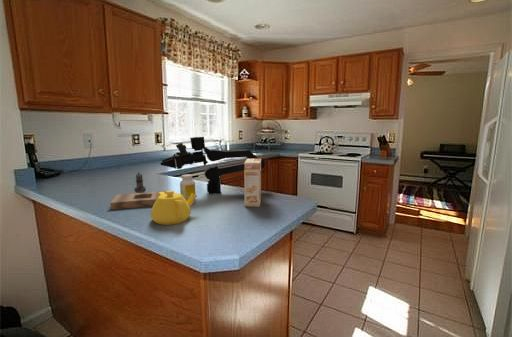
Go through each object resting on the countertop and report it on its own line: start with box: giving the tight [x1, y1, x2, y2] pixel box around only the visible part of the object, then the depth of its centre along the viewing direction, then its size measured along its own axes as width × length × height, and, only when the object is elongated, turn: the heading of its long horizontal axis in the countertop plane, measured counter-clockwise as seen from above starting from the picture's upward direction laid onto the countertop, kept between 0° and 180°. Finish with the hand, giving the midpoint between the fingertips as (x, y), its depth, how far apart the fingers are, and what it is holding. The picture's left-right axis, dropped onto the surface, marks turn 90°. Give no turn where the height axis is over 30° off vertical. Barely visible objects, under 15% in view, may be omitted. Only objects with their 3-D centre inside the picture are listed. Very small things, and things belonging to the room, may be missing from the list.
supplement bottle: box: [179, 173, 197, 204], centre depth 120 cm, size 7×7×13 cm
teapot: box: [150, 190, 198, 226], centre depth 101 cm, size 20×18×11 cm
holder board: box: [110, 190, 168, 210], centre depth 121 cm, size 24×14×3 cm, turn 107°
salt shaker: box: [133, 171, 147, 193], centre depth 134 cm, size 6×6×12 cm
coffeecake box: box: [243, 158, 262, 208], centre depth 121 cm, size 15×7×20 cm, turn 176°
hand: (161, 162), depth 129 cm, fingers open, 9 cm apart
